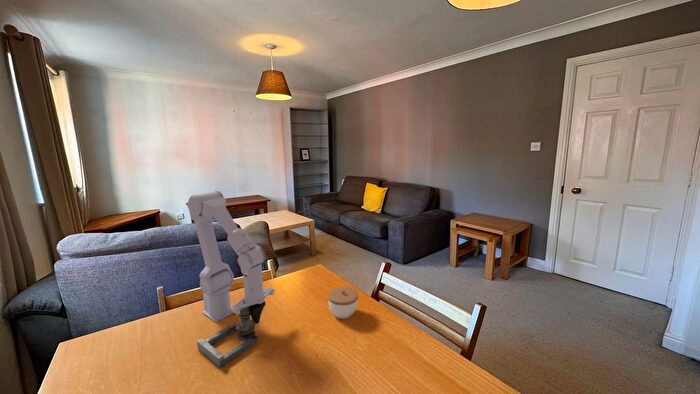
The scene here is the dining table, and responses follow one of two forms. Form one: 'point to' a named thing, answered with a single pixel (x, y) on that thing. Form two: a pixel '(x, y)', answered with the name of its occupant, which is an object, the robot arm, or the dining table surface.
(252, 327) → the weathered grey candle holder
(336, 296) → the lidded jar
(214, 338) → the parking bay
